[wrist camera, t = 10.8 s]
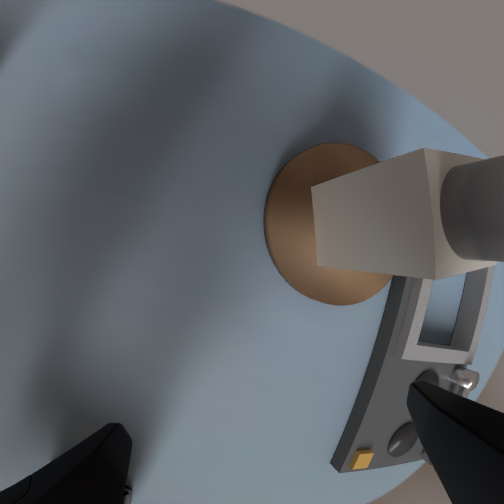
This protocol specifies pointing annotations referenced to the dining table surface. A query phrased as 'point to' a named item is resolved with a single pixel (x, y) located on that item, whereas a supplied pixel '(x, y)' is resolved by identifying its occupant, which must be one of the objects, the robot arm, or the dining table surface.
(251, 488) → the dining table surface
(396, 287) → the grey control panel
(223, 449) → the dining table surface
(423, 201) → the white carton with cap
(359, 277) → the disc
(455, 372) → the lever
